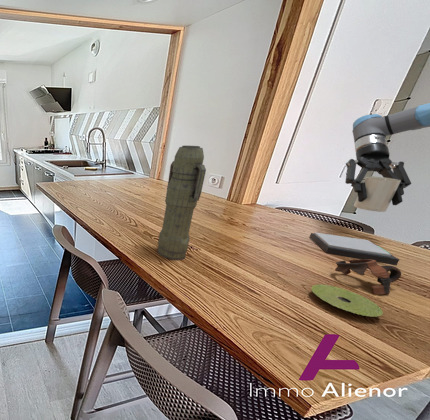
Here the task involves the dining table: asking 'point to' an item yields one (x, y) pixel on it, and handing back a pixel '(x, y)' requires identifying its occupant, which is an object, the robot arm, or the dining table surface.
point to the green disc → (347, 300)
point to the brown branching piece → (376, 270)
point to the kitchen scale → (352, 248)
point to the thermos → (181, 201)
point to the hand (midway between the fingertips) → (379, 201)
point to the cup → (378, 193)
